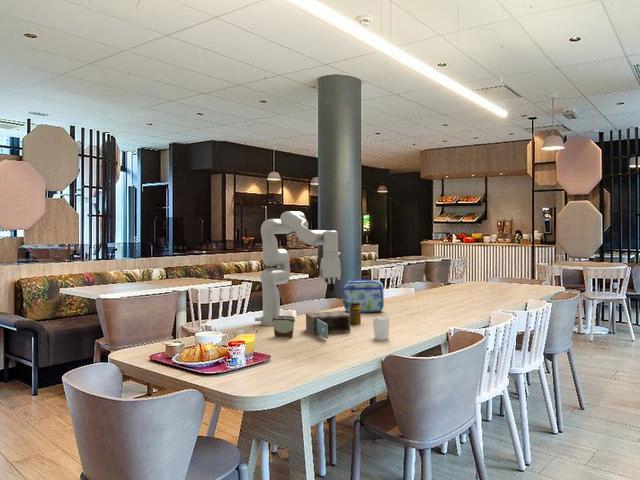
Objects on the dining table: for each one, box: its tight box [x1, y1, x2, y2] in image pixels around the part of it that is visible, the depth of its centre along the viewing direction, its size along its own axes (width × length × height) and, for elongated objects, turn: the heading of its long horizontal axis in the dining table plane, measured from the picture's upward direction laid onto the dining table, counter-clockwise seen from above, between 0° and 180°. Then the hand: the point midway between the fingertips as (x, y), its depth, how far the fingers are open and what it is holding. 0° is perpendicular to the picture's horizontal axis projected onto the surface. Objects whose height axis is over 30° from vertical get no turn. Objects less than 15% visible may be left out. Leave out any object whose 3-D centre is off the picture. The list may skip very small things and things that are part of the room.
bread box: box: [305, 310, 351, 336], centre depth 274 cm, size 20×14×9 cm
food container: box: [272, 315, 296, 339], centre depth 262 cm, size 12×6×10 cm, turn 71°
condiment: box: [349, 302, 363, 327], centre depth 293 cm, size 7×8×12 cm
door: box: [316, 319, 329, 340], centre depth 257 cm, size 16×2×7 cm, turn 18°
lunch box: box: [342, 278, 385, 313], centre depth 337 cm, size 26×11×21 cm, turn 77°
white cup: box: [372, 316, 390, 341], centre depth 254 cm, size 8×8×10 cm
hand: (330, 291), depth 263 cm, fingers closed
